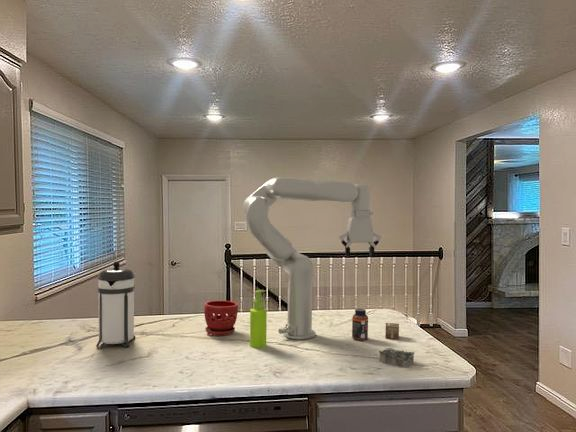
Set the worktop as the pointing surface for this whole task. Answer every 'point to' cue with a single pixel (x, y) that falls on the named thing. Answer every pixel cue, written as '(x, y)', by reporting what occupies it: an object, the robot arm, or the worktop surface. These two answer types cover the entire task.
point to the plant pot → (220, 317)
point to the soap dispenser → (258, 322)
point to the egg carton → (397, 357)
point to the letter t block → (392, 331)
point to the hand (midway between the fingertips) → (359, 256)
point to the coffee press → (116, 306)
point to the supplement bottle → (360, 325)
